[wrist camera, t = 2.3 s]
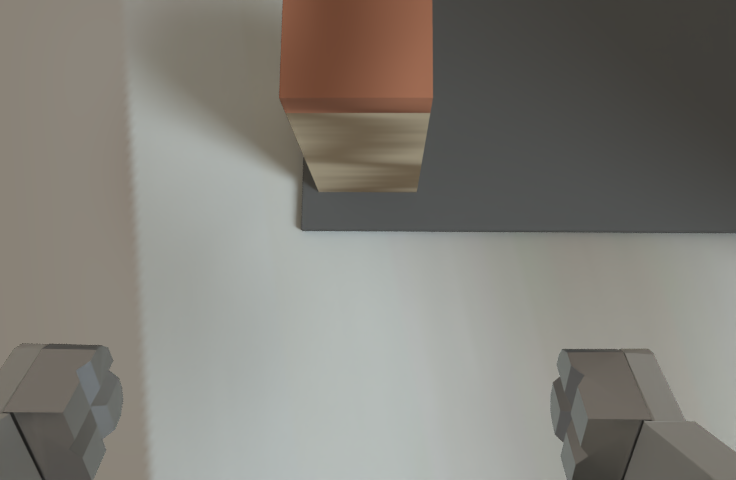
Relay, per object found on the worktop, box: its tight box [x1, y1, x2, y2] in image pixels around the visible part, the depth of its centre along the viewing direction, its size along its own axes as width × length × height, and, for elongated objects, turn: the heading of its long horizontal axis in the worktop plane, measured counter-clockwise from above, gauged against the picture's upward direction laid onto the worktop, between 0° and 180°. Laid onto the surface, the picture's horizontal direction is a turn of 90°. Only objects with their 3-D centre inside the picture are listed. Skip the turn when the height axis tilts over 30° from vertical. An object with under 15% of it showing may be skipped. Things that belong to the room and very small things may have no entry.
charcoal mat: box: [301, 0, 736, 233], centre depth 31 cm, size 22×22×1 cm
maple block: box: [279, 0, 433, 192], centre depth 25 cm, size 4×4×11 cm
